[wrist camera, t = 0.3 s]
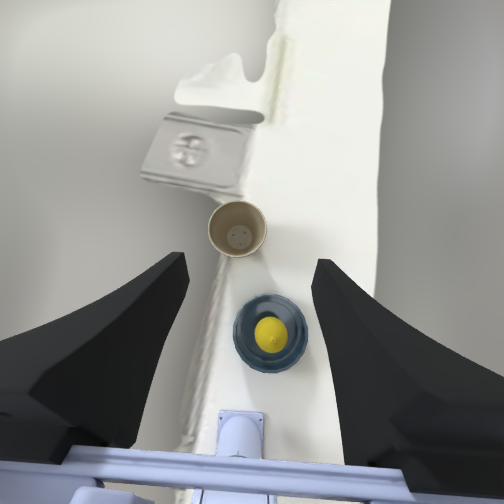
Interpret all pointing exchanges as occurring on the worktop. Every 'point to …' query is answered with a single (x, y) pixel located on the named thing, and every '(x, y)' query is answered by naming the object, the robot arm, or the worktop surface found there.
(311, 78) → the worktop surface
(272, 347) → the lemon
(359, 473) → the robot arm
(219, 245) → the flower pot
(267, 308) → the bowl
